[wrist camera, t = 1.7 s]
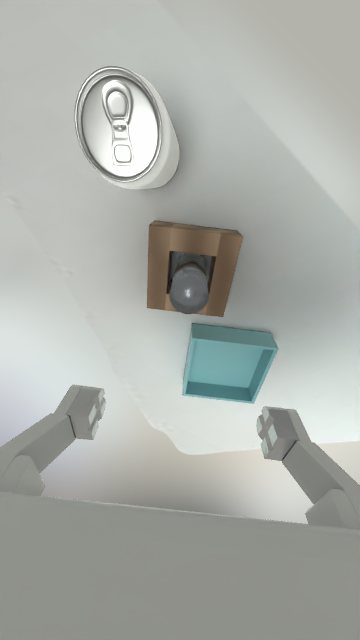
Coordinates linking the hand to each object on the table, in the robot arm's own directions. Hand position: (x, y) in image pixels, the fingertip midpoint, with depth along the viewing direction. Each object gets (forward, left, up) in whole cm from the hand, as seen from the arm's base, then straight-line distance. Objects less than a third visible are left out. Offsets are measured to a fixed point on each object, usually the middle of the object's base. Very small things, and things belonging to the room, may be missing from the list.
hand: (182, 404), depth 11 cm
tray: (-8, +16, -23) cm, 29 cm away
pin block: (0, 0, -23) cm, 23 cm away
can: (+6, -12, -23) cm, 27 cm away
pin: (0, 0, -23) cm, 23 cm away
